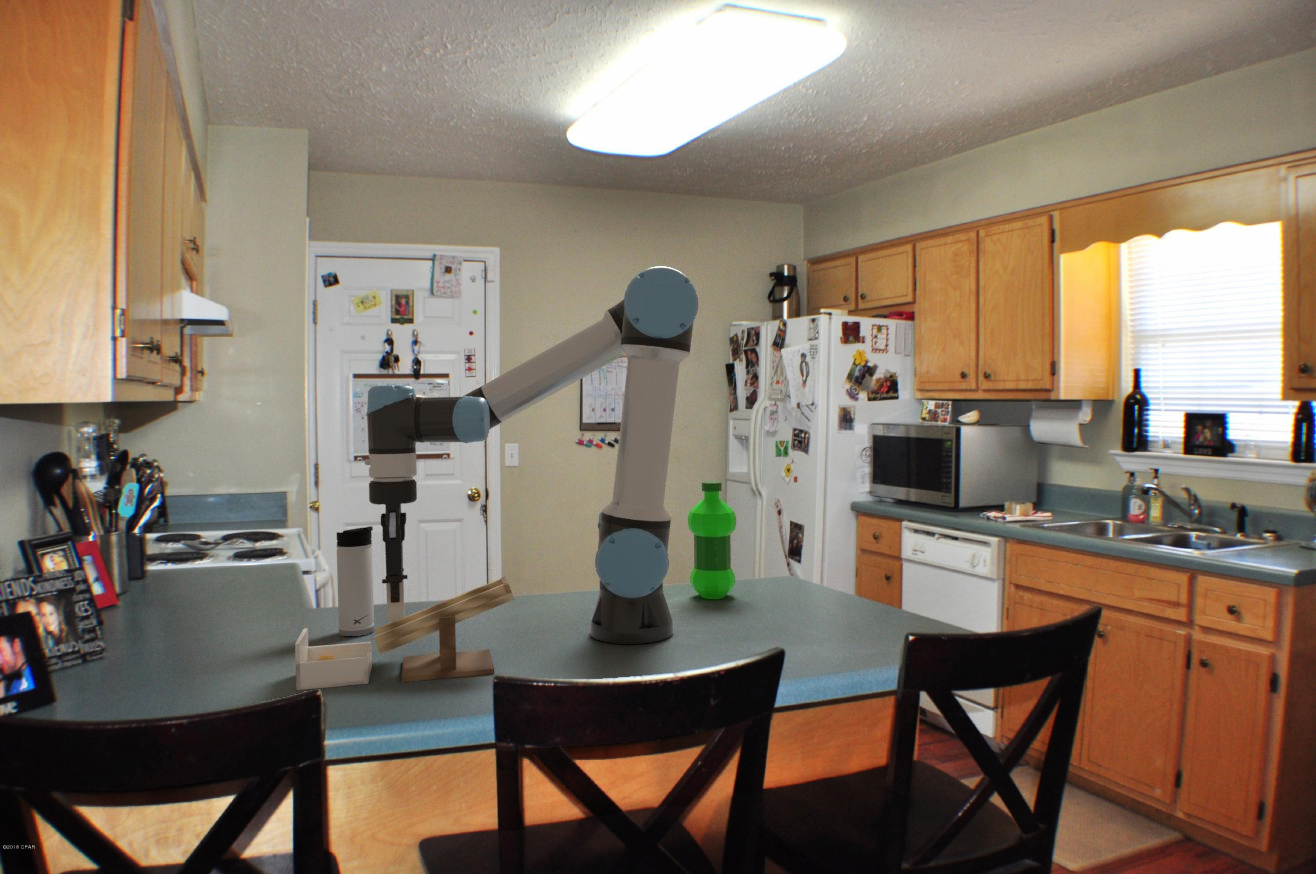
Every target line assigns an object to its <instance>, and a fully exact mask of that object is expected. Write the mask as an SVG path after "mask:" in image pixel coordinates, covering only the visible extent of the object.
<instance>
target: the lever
mask: <svg viewBox="0 0 1316 874" xmlns="http://www.w3.org/2000/svg"><path fill="white" fill-rule="evenodd" d="M514 600H515V596H514V595H513V592H512V589H511V587H510V583H509V582H508V580H507V577H506V576H502V577H500V578H498V579H496V580H494V581H491V582H489V583H486V584H483V585H481V586H479V587H476V588H473V589H472V590H468V591H467V592H464V593H462V594H459V595H457V596H454V597H452V598H449V599H446V600H443V601H442V602H439V603H437V604H436V603H435V605H432V606H429V607H426V608H424V609H421V610H419V611H417V612H414V613H412V614H409V615H407V616H404V618H402V619H399V620H397V621H394V622H388V623H387V624H385V625H382V626H380V627H377V628H375V632H376V635H374V636H373V640H374V642H375V645H376V647H377V650H378V653H379V655H383V654H385V653H387V652H390V651H392V650H395V649H397V648H399V647H400V648H401V647H402V646H404V645H407V644H410V643H411V642H415V641H417V640H420V639H421V638H424V637H427V636H429V635H431V634H433V633H437V632H439V630H440V626H439V616H453V615H455V625H456V624H458V623H460V622H462V621H465V620H467V619H470V618H473V617H475V616H478V615H480V614H482V613H485V612H487V611H490V610H493V609H495V608H497V607H499V606H502V605H504V604H506V603H509V602H511V601H514Z"/></svg>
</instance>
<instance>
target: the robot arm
mask: <svg viewBox="0 0 1316 874" xmlns="http://www.w3.org/2000/svg"><path fill="white" fill-rule="evenodd" d="M604 311H605V312H604V315H603V317H602V319H600V320H599V321H596V322H595V323H593V324H592V325H590V326H588V327H585V328H584V329H582V330H580V331H578V332H577V333H574V334H573V335H572V336H569V337H568V338H566V339H564V340H562V341H560V342H558V343H557V344H555V345H553V346H551V347H550V348H548V349H546V350H544V351H542V352H541V353H539V354H537V355H535V356H533V357H532V358H530V359H528V360H526V361H524V362H523V363H520V364H518V365H517V366H515V367H514V368H512V369H510V370H508V371H506V372H504V373H503V374H501V375H498V376H497V377H496V378H494V379H492V380H490V381H489V382H486V383H484V384H483V385H482V386H480V387H478V388H475V389H473V390H472V391H469V392H468V393H466V394H464V395H463V396H436V397H435V396H433V397H423V396H417V394H416V393H415V388H414V386H412V385H388V384H387V385H384V384H383V385H374V386H371V387H370V388H369V389H368V390H367V391H368V392H367V406H366V407H367V411H366V415H365V416H366V421H367V422H366V423H367V443H368V445H367V446H368V449H367V450H368V459H367V458H365V459H364V465H366V466H369V467H368V476H369V477H370V478H371V479H372V480H370V482H369V483H368V499H369V500H368V501H369V502H370V504H373V505H385V513H381V514H380V526H381V527H382V541H383V542H384V548H385V549H384V551H385V578H382V579H381V583H382V584H383V585H384V584H386V586H385V588H386V589H385V590H386V622H387V623H392V622H394V621H397V620H399V619H402V618H404V617H405V582H404V580H408V574H404V571H405V569H404V554H403V553H404V552H403V550H404V547H403V542H404V541H405V537H406V523H407V512H402V504H410V503H411V504H413V503H414V502H416V501H417V500H418V494H417V493H418V491H417V490H418V487H417V481H416V479H413V478H414V477H415V476H417V451H416V449H417V448H416V446H417V445H416V444H417V443H422V444H423V443H464V444H468V443H476V442H484V441H486V440H487V438H488V437H489V433H490V430H492V428H494V427H495V428H496V427H497V426H498V425H500V424H502V423H503V422H505V421H507V420H509V419H511V418H512V417H514V416H517V414H520V413H522V412H524V411H525V410H527V409H528V408H530V407H532V406H534V405H536V404H538V403H539V402H542V401H543V400H545V399H547V398H549V397H550V396H552V395H554V394H556V393H558V392H560V391H561V390H563V389H565V388H568V387H569V386H570V385H572V384H574V383H576V382H577V381H580V380H581V379H583V378H585V377H586V376H589V375H591V374H592V373H594V372H596V371H597V370H599V369H601V368H603V367H605V366H607V365H609V364H610V363H611V364H612V363H613V362H614V361H616V360H618V359H619V358H622V357H627V365H626V366H627V367H626V376H625V385H624V394H623V403H622V412H621V421H620V430H619V438H618V448H617V456H616V457H617V458H616V465H615V472H614V473H615V475H614V481H613V482H614V483H613V484H614V485H613V492H612V500H611V502H609V503H608V504H607V505H606V506H605V507H603V508H602V510H601V511H600V512H599V515H598V522H597V529H598V546H597V551H596V554H595V559H594V562H595V563H594V565H595V566H594V567H595V569H596V570H595V571H596V574H597V576H598V579H599V593H598V596H597V600H596V603H595V606H594V610H593V614H592V617H591V620H590V636H591V637H592V638H593V639H594V640H597V641H601V642H603V643H610V644H619V645H638V644H642V645H643V644H649V643H655V642H659V641H663V640H666V639H667V638H669V637H671V636H672V635H673V634H674V622H673V618H672V615H671V612H670V608H669V606H668V603H667V600H666V597H665V594H664V584H663V581H664V580H665V578H666V576H667V574H668V570H669V568H670V567H669V565H670V560H669V553H668V551H669V550H668V548H669V542H670V541H669V540H670V530H671V523H672V522H671V521H672V516H671V515H670V513H668V511H667V510H666V508H665V506H664V503H665V495H666V487H667V485H666V484H667V479H668V477H667V476H668V475H667V474H668V469H669V459H670V451H671V450H670V449H671V442H672V433H673V425H674V423H673V422H674V414H675V406H676V398H677V389H678V380H679V379H678V378H679V372H680V371H679V370H680V364H681V363H682V362H683V361H684V360H685V359H686V358H688V357H689V356H690V355H691V348H692V347H691V345H692V337H693V330H694V328H693V327H694V322H695V319H696V316H697V315H698V311H699V299H698V294H697V290H696V289H695V286H694V285H693V283H692V281H691V280H690V279H689V277H687V275H685V274H684V273H683V272H681V271H679V270H678V269H676V268H672V267H669V266H654V267H649V268H646V269H645V270H643V271H640V272H639V273H638V274H636V276H634V278H631V280H630V282H629V284H628V285H627V288H626V289H625V292H624V298H623V299H622V300H620V302H618V303H617V304H615V305H614V306H612V307H610V308H608V309H607V310H604Z"/></svg>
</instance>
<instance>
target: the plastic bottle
mask: <svg viewBox="0 0 1316 874" xmlns="http://www.w3.org/2000/svg"><path fill="white" fill-rule="evenodd" d="M701 491H702V492H704V493H703V494H704V498H702V500H700V501H699V502H698V503H697V504H695V505H694V507H693V508H692V509H690V511H689V513H688V516H687V524H688V529H689V530H690V531H691V533H692V534H693V554H694V555H693V557H694V558H693V560H694V562H693V564H694V567H692V570H691V572H690V576H689V582H690V584H691V587H692V588H693V590H695V592H696V593H697V594H698V595H699V596H700V597H701V598H702V599H706V600H720V599H724V598H726V596H727V595H728V594H729V593H730V592H731V591H732V590H733V588H734V586H735V584H736V576H735V573H734V571H733V568H732V566H731V565H732V562H731V560H732V558H731V556H732V555H731V554H732V553H731V552H732V550H731V534H733V532H734V531H735V530H736V528H737V527H736V526H737V515H736V513H735V510H733V509H732V508H731V507H730V506H729V505H728V504H727V503H726V502H725V501H723V500H722V499H721V498H720V492H722V491H723V489H722V482H721V481H703V482H702V481H701Z"/></svg>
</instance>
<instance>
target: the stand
mask: <svg viewBox="0 0 1316 874" xmlns="http://www.w3.org/2000/svg"><path fill="white" fill-rule="evenodd" d="M439 626H440V630H439V631H438V633H439V635H438V637H439V639H438V640H439V653H429V654H421V655H420V654H419V655H418V654H417V655H409V656H403V659H402V671H401V683H407V682H409V683H410V682H418V681H428V680H429V681H431V680H441V679H451V678H460V677H462V678H463V677H471V676H480V675H481V676H483V675H492V674H495V666H494V662H493V658H492V654H491V650H490V649H488V648H487V649H478V650H468V651H457V643H456V640H457V639H456V637H457V636H456V624H455V615H453V616H439Z"/></svg>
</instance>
